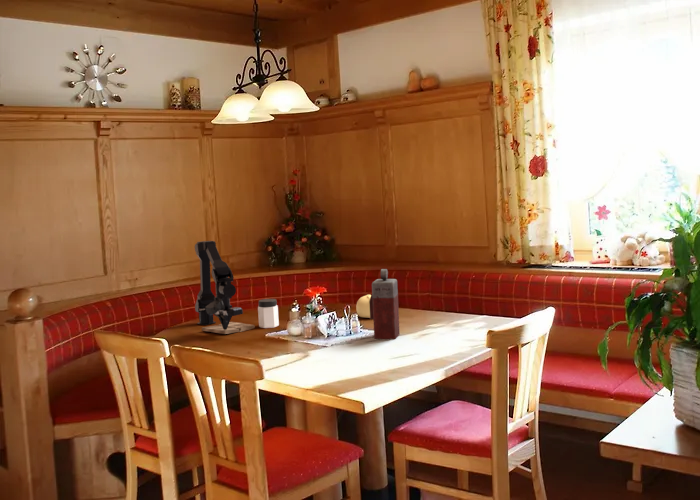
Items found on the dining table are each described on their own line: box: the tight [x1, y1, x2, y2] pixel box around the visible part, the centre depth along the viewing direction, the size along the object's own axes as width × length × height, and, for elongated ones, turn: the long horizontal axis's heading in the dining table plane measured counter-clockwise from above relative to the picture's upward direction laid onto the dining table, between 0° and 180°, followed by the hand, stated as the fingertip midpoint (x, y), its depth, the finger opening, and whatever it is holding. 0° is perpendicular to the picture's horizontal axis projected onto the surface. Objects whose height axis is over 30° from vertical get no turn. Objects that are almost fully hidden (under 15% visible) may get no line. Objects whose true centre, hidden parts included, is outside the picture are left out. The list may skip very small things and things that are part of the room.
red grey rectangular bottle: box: [369, 268, 400, 340], centre depth 316 cm, size 9×11×28 cm
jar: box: [257, 298, 280, 329], centre depth 349 cm, size 9×8×12 cm
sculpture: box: [355, 294, 372, 319], centre depth 359 cm, size 11×12×11 cm
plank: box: [201, 325, 240, 335], centre depth 342 cm, size 16×8×1 cm, turn 50°
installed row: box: [217, 321, 256, 333], centre depth 349 cm, size 16×9×2 cm, turn 50°
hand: (225, 329), depth 337 cm, fingers closed
